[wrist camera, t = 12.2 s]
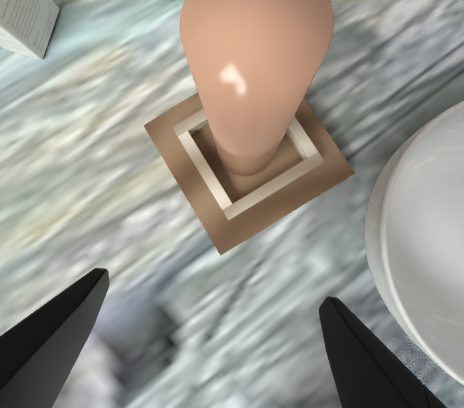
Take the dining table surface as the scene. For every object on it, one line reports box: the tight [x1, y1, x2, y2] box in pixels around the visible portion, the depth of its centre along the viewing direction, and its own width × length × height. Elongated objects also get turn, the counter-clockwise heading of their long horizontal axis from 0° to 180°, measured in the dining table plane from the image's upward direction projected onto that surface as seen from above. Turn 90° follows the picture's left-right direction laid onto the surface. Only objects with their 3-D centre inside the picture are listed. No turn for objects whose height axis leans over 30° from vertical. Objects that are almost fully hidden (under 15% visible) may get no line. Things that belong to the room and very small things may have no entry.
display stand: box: [144, 93, 355, 255], centre depth 20 cm, size 14×14×3 cm
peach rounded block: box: [180, 0, 334, 177], centre depth 14 cm, size 5×5×13 cm
